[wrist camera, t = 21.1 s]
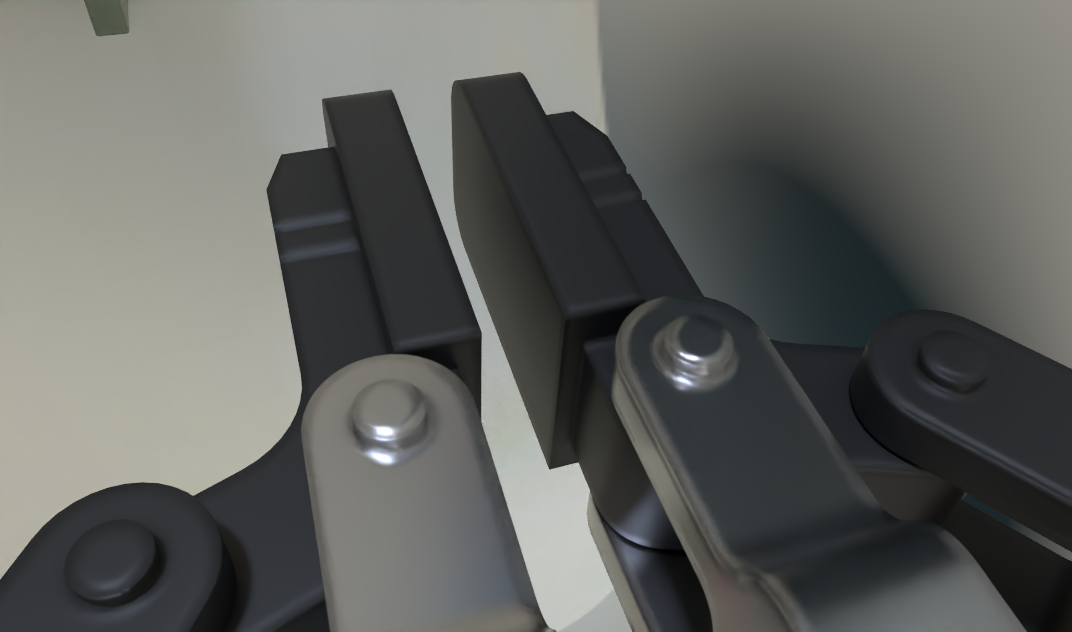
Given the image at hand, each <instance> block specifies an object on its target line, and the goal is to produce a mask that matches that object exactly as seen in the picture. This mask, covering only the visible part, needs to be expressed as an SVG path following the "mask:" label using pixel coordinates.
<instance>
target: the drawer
mask: <svg viewBox="0 0 1072 632" xmlns="http://www.w3.org/2000/svg"><path fill="white" fill-rule="evenodd" d="M84 1H85V4H86V7H87V10H88V13H89V16H90V19H91V22H92V25H93V28H94V30H95V33H96V35H97V36H106V35H115V34H124V33H128V32H129V18H128V0H84Z"/></svg>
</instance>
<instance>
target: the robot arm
mask: <svg viewBox="0 0 1072 632" xmlns="http://www.w3.org/2000/svg"><path fill="white" fill-rule="evenodd" d="M322 106H323V114H324V121H325V128H326V135H327V142H328V148H322V149H316V150H309V151H302V152H296V153H289V154H282V155H281V157H280V159H279V161H278V164H277V166H276V168H275V171H274V173H273V176H272V178H271V180H270V183H269V185H268V187H267V195H268V200H269V206H270V211H271V217H272V222H273V227H274V232H275V238H276V243H277V249H278V254H279V259H280V265H281V270H282V276H283V281H284V286H285V292H286V297H287V303H288V308H289V313H290V319H291V324H292V329H293V335H294V340H295V346H296V351H297V356H298V362H299V367H300V372H301V381H302V393H301V401H300V404H299V407H298V410H297V413H296V415H295V417H294V419H293V421H292V423H291V425H290V427H289V428H288V430H287V431H286V432H285V434H284V435H283V437H282V438H281V439H280V440H279V441H278V442H277V443H276V444H275V445H274V446H273V447H272V448H271V450H270V451H268V452H267V453H266V454H265V455H263V456H262V457H261V458H260V459H258V460H257V461H256V462H254V463H252V464H251V465H249V466H247V467H246V468H244V469H243V470H241V471H239V472H237V473H235V474H233V475H232V476H230V477H228V478H226V479H224V480H222V481H220V482H219V483H217V484H215V485H213V486H211V487H209V488H207V489H206V490H204V491H202V492H200V493H198V494H196V495H194V496H192V495H190V494H189V493H187V492H185V491H182V490H180V489H178V488H175V487H172V486H168V485H163V484H159V483H143V482H142V483H130V484H123V485H118V486H114V487H109V488H106V489H103V490H100V491H98V492H95V493H92V494H90V495H88V496H86V497H84V498H82V499H80V500H78V501H76V502H74V503H72V504H71V505H70V506H68V507H67V508H65V509H64V510H62V511H61V512H59V513H58V514H57V515H55V516H54V517H53V518H52V519H51V520H50V521H49V522H47V523H46V524H45V525H44V526H43V527H42V528H41V529H40V530H39V532H38V533H37V534H36V535H35V536H34V537H33V538H32V539H31V541H30V542H29V543H28V545H27V546H26V547H25V548H24V550H23V551H22V552H21V554H20V555H19V556H18V558H17V559H16V560H15V561H14V563H13V564H12V565H11V567H10V568H9V569H8V571H7V572H6V573H5V574H4V576H3V577H2V578H1V580H0V632H556V631H555V630H554V629H551V628H549V627H548V625H547V624H546V622H545V620H544V618H543V616H542V614H541V611H540V608H539V606H538V603H537V600H536V597H535V594H534V590H533V587H532V584H531V581H530V578H529V574H528V571H527V568H526V565H525V561H524V558H523V555H522V552H521V549H520V545H519V542H518V539H517V536H516V532H515V529H514V526H513V523H512V520H511V516H510V513H509V510H508V507H507V503H506V500H505V497H504V494H503V491H502V487H501V484H500V481H499V478H498V474H497V471H496V468H495V465H494V462H493V458H492V455H491V452H490V449H489V445H488V442H487V439H486V436H485V433H484V429H483V426H482V423H481V338H482V333H481V330H480V327H479V324H478V322H477V319H476V316H475V314H474V311H473V308H472V305H471V303H470V300H469V297H468V294H467V292H466V289H465V286H464V284H463V281H462V278H461V275H460V273H459V270H458V267H457V264H456V262H455V259H454V256H453V254H452V251H451V248H450V245H449V243H448V240H447V237H446V235H445V232H444V229H443V226H442V224H441V221H440V218H439V215H438V213H437V210H436V207H435V205H434V202H433V199H432V196H431V194H430V191H429V188H428V185H427V183H426V180H425V177H424V175H423V172H422V169H421V166H420V164H419V161H418V158H417V155H416V153H415V150H414V147H413V145H412V142H411V139H410V136H409V134H408V131H407V128H406V125H405V123H404V120H403V117H402V115H401V112H400V109H399V106H398V104H397V101H396V98H395V96H394V93H393V92H392V90H384V91H377V92H369V93H362V94H354V95H347V96H340V97H332V98H325V99H322ZM451 109H452V149H453V189H454V203H455V210H456V216H457V222H458V226H459V231H460V235H461V238H462V242H463V245H464V247H465V250H466V253H467V255H468V258H469V261H470V263H471V266H472V268H473V271H474V274H475V276H476V279H477V281H478V284H479V287H480V289H481V292H482V295H483V297H484V300H485V302H486V305H487V308H488V310H489V313H490V315H491V318H492V321H493V323H494V326H495V329H496V331H497V334H498V336H499V339H500V342H501V344H502V347H503V350H504V352H505V355H506V357H507V360H508V363H509V365H510V368H511V370H512V373H513V376H514V378H515V381H516V384H517V386H518V389H519V391H520V394H521V397H522V399H523V402H524V405H525V407H526V410H527V412H528V415H529V418H530V420H531V423H532V425H533V428H534V431H535V433H536V436H537V439H538V441H539V444H540V446H541V449H542V452H543V454H544V457H545V459H546V462H547V465H548V467H549V469H553V468H557V467H561V466H565V465H569V464H573V463H577V462H579V464H580V467H581V469H582V472H583V474H584V477H585V479H586V482H587V484H588V486H589V489H590V494H589V500H588V507H587V519H588V525H589V528H590V532H591V535H592V537H593V539H594V542H595V544H596V546H597V549H598V551H599V554H600V556H601V558H602V561H603V563H604V565H605V568H606V570H607V573H608V575H609V577H610V580H611V582H612V584H613V587H614V589H615V592H616V594H617V596H618V599H619V601H620V603H621V606H622V608H623V611H624V613H625V615H626V618H627V620H628V623H629V625H630V627H631V629H632V632H1072V561H1070V560H1067V559H1065V558H1064V557H1061V556H1060V555H1058V554H1056V553H1055V552H1053V551H1051V550H1049V549H1047V548H1046V547H1044V546H1042V545H1040V544H1039V543H1037V542H1035V541H1033V540H1032V539H1030V538H1028V537H1026V536H1025V535H1023V534H1021V533H1019V532H1017V531H1016V530H1014V529H1012V528H1010V527H1009V526H1007V525H1005V524H1003V523H1002V522H1000V521H998V520H996V519H994V518H993V517H991V516H989V515H988V514H986V513H984V512H982V511H980V510H979V509H977V508H975V507H973V506H972V505H970V504H968V503H966V502H964V501H963V498H964V497H965V495H966V494H969V495H971V496H973V497H975V498H977V499H978V500H980V501H982V502H984V503H985V504H987V505H989V506H991V507H992V508H994V509H996V510H998V511H1000V512H1001V513H1003V514H1005V515H1007V516H1009V517H1010V518H1012V519H1014V520H1016V521H1017V522H1019V523H1021V524H1023V525H1024V526H1026V527H1028V528H1030V529H1032V530H1033V531H1035V532H1037V533H1039V534H1041V535H1042V536H1044V537H1046V538H1048V539H1049V540H1051V541H1053V542H1055V543H1056V544H1058V545H1060V546H1062V547H1064V548H1065V549H1068V550H1069V551H1071V552H1072V369H1070V368H1068V367H1066V366H1064V365H1062V364H1060V363H1058V362H1056V361H1054V360H1052V359H1050V358H1048V357H1045V356H1044V355H1042V354H1040V353H1038V352H1035V351H1033V350H1031V349H1029V348H1027V347H1025V346H1023V345H1021V344H1019V343H1017V342H1015V341H1013V340H1011V339H1009V338H1007V337H1005V336H1003V335H1001V334H999V333H996V332H994V331H992V330H990V329H988V328H986V327H984V326H982V325H980V324H978V323H976V322H974V321H971V320H969V319H966V318H964V317H961V316H958V315H955V314H951V313H947V312H942V311H936V310H910V311H906V312H901V313H898V314H895V315H893V316H891V317H888V318H887V319H886V320H884V321H883V322H881V323H880V324H879V325H878V326H877V327H876V329H875V330H874V332H873V334H872V335H871V337H870V339H869V341H868V343H867V345H866V348H859V347H843V346H827V345H810V344H796V343H787V342H780V341H775V340H772V339H768V337H767V336H766V334H765V333H764V332H763V331H762V329H761V328H760V327H759V326H758V325H757V324H756V323H755V322H754V321H753V320H752V319H751V318H750V317H748V316H747V315H745V314H744V313H742V312H741V311H739V310H738V309H736V308H734V307H732V306H730V305H728V304H726V303H723V302H720V301H718V300H715V299H711V298H707V297H704V296H703V294H702V293H701V291H700V289H699V288H698V286H697V284H696V283H695V281H694V279H693V278H692V276H691V274H690V273H689V271H688V269H687V268H686V266H685V264H684V263H683V261H682V259H681V258H680V256H679V254H678V253H677V251H676V249H675V248H674V246H673V245H672V243H671V241H670V239H669V238H668V236H667V234H666V233H665V231H664V229H663V228H662V226H661V225H660V223H659V221H658V220H657V218H656V216H655V214H654V213H653V211H652V210H651V208H650V206H649V204H648V203H647V201H646V200H642V194H641V191H640V190H639V188H638V186H637V185H636V183H635V181H634V180H633V178H632V176H631V175H630V174H627V172H626V166H625V165H624V163H623V161H622V160H621V158H620V156H619V155H618V153H617V151H616V150H615V148H614V146H613V145H612V143H611V141H610V140H609V138H608V136H607V135H605V134H604V133H602V132H601V131H600V130H598V129H597V128H596V127H594V126H593V125H591V124H590V123H589V122H587V121H586V120H585V119H583V118H582V117H581V116H579V115H578V114H576V113H575V112H574V111H571V112H564V113H557V114H550V115H546V114H545V112H544V110H543V108H542V106H541V104H540V103H539V101H538V99H537V97H536V95H535V93H534V92H533V90H532V88H531V86H530V84H529V82H528V81H527V79H526V77H525V76H524V75H523V74H522V73H521V72H516V73H509V74H501V75H494V76H486V77H479V78H472V79H464V80H457V81H454V83H453V86H452V94H451Z"/></svg>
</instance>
